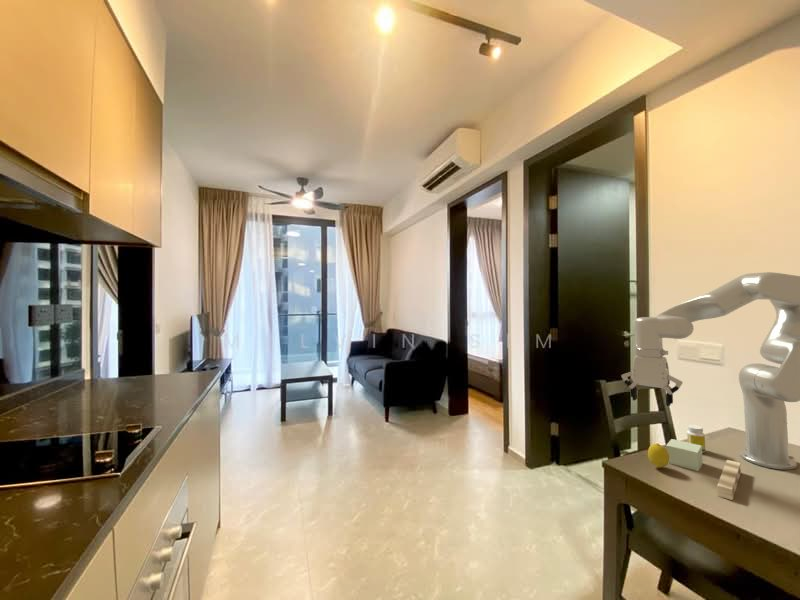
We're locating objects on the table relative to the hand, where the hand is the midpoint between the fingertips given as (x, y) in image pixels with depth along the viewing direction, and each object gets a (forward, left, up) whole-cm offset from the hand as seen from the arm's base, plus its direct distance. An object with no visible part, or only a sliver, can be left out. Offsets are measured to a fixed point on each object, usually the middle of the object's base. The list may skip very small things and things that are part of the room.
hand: (651, 402), depth 118 cm
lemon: (+7, +3, -19) cm, 21 cm away
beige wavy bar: (+5, +19, -19) cm, 28 cm away
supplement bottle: (-15, +9, -19) cm, 26 cm away
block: (-2, +8, -19) cm, 21 cm away
